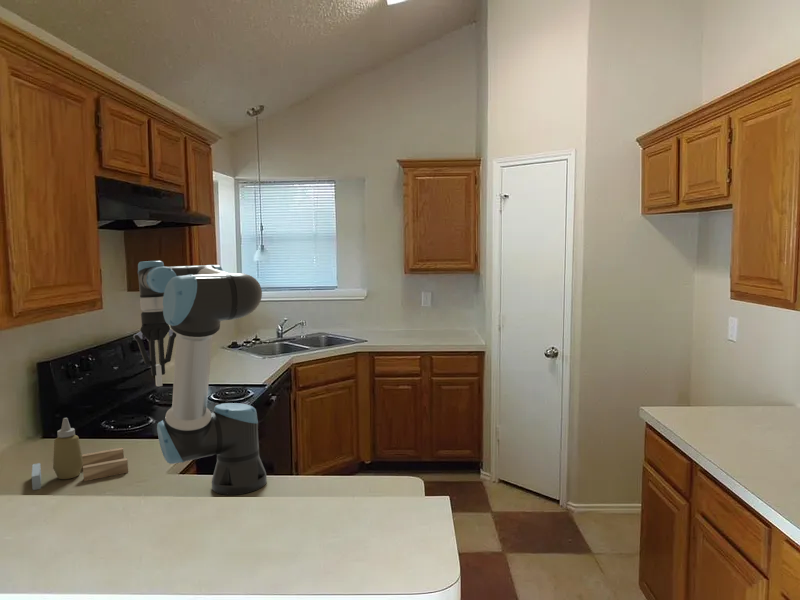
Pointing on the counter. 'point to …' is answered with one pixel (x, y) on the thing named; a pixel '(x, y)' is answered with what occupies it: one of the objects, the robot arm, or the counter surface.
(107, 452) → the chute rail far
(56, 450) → the squeeze bottle
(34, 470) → the bar
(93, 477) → the bar
